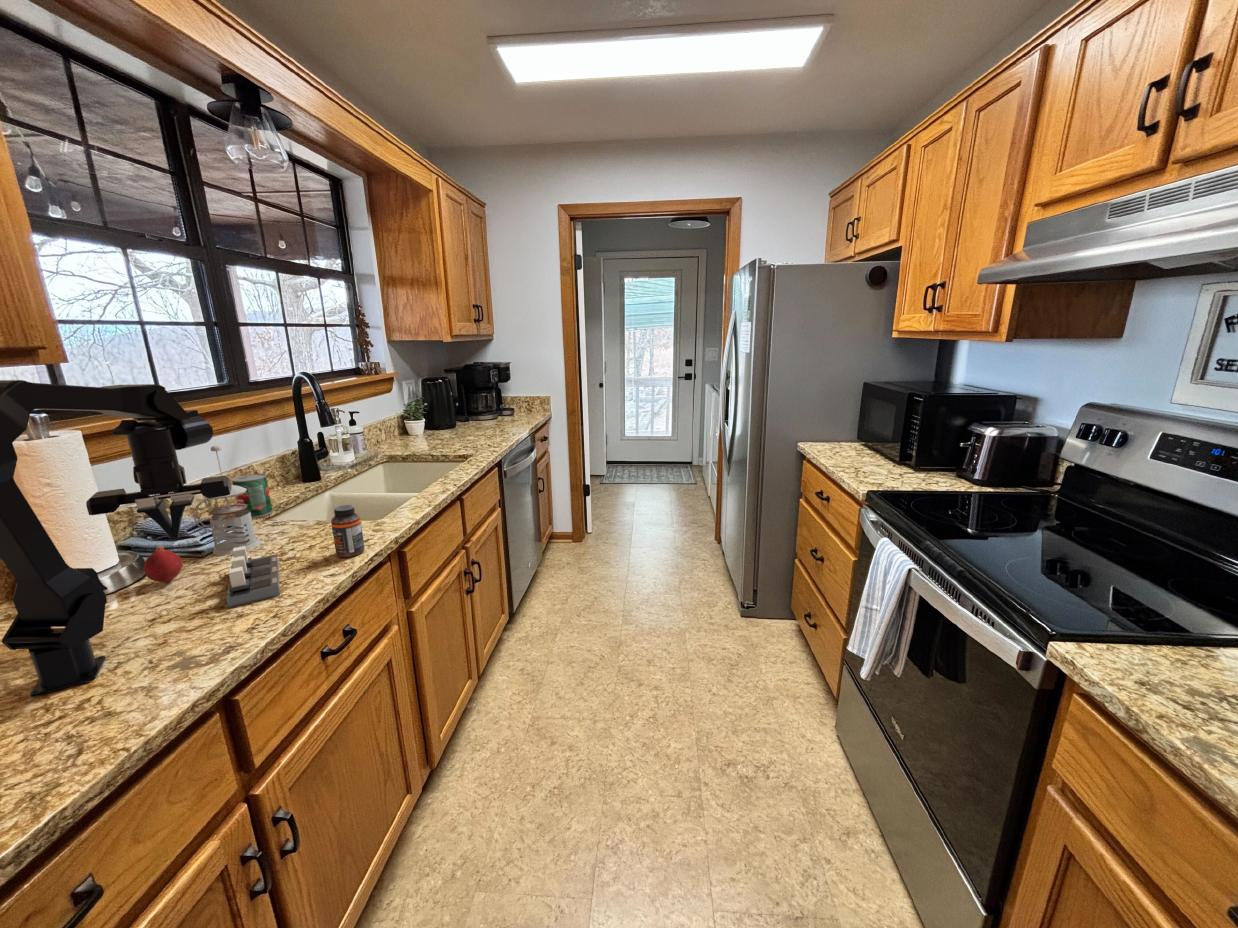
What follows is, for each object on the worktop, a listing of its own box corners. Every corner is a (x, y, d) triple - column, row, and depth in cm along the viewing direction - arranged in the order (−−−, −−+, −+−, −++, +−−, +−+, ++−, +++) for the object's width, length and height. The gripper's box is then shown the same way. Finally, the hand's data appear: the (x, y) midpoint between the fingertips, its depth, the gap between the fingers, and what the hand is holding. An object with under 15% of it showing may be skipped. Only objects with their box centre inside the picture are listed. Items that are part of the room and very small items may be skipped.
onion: (163, 590, 98) (153, 553, 96) (140, 588, 99) (130, 551, 97) (193, 577, 104) (184, 542, 102) (171, 575, 105) (162, 540, 103)
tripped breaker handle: (248, 587, 94) (245, 570, 93) (229, 592, 93) (225, 574, 92) (249, 581, 97) (245, 564, 96) (230, 586, 95) (226, 568, 94)
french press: (255, 550, 117) (233, 447, 111) (194, 559, 113) (168, 452, 106) (266, 536, 126) (247, 439, 119) (211, 543, 121) (188, 444, 115)
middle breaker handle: (250, 575, 99) (246, 559, 98) (231, 579, 97) (227, 563, 96) (250, 570, 101) (247, 554, 100) (232, 574, 100) (228, 557, 99)
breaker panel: (279, 595, 96) (278, 585, 96) (228, 607, 92) (226, 597, 91) (278, 562, 110) (276, 553, 110) (233, 571, 106) (231, 562, 106)
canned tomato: (279, 509, 145) (272, 473, 143) (257, 519, 138) (249, 481, 135) (255, 508, 146) (248, 473, 144) (232, 518, 139) (224, 480, 136)
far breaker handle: (251, 565, 104) (247, 549, 103) (233, 568, 102) (229, 552, 101) (251, 560, 106) (248, 544, 105) (234, 563, 105) (230, 547, 104)
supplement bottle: (330, 555, 114) (322, 509, 111) (354, 546, 119) (347, 501, 116) (347, 560, 111) (339, 513, 108) (370, 550, 116) (364, 505, 113)
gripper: (224, 442, 98) (240, 515, 102) (93, 455, 88) (116, 536, 92) (220, 451, 90) (237, 532, 93) (73, 467, 79) (100, 557, 83)
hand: (175, 538), depth 91 cm, fingers closed
